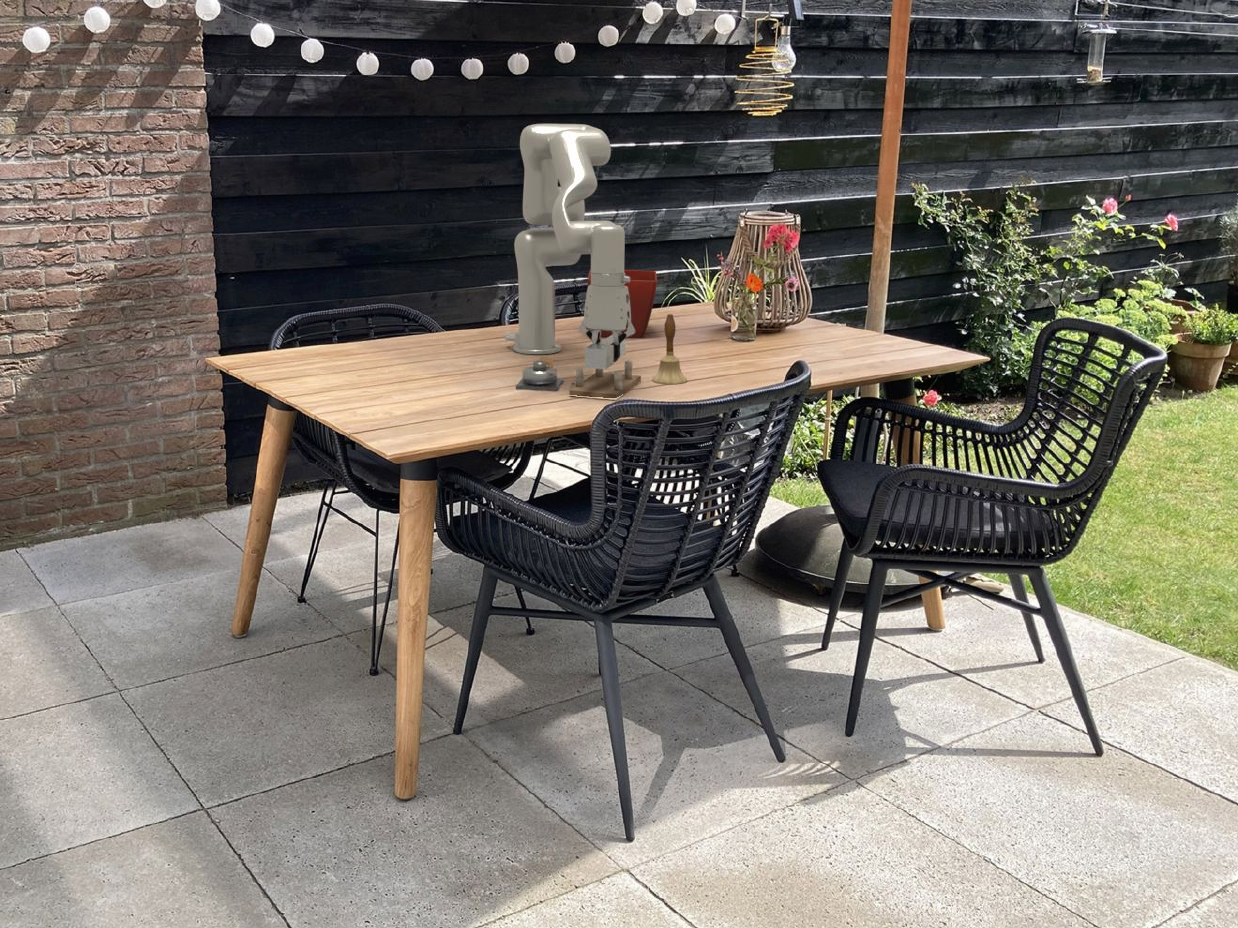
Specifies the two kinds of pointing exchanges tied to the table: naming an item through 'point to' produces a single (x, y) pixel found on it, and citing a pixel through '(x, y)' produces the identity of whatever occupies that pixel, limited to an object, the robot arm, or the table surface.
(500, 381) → the table surface
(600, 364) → the grey joined blocks
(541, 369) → the domed call bell
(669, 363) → the hand bell
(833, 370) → the table surface
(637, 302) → the plant pot
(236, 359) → the table surface
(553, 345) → the robot arm
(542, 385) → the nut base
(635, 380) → the rack
